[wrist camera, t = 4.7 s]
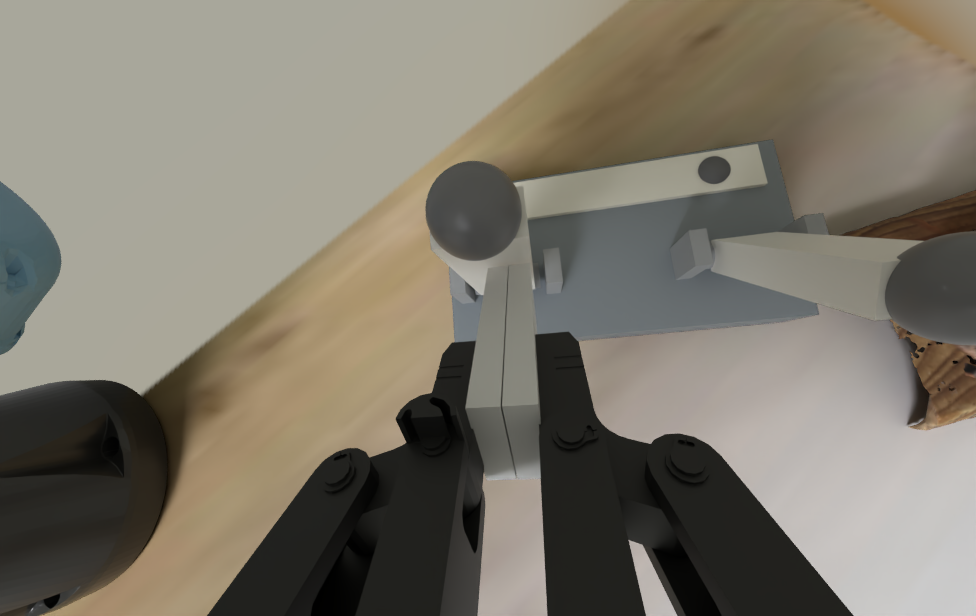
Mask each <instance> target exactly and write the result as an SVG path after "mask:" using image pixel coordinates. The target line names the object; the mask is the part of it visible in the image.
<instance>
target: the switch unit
mask: <svg viewBox="0 0 976 616" xmlns="http://www.w3.org/2000/svg"><path fill="white" fill-rule="evenodd" d="M512 182H513V183H514V185H515V187H517V186H523V189H524V197H525V205H526V213H527V222H528V230H529V238H530V246H531V254H532V263H538V266H539V275H540V284H541V288H535V289H533V297H534V306H535V315H536V324H537V334H546V333H557V332H570V333H571V334H572V336H573V337H574V338H575V339H576V340H577V341H583V340H594V339H605V338H616V337H627V336H638V335H649V334H660V333H671V332H682V331H692V330H703V329H714V328H725V327H736V326H747V325H758V324H769V323H780V322H785V321H790V320H795V319H800V318H805V317H809V316H814V315H819V312H818V308H817V304H816V303H814V302H811V301H807V300H804V299H801V298H797V297H794V296H791V295H788V294H784V293H781V292H778V291H774V290H771V289H768V288H764V287H761V286H758V285H754V284H751V283H748V282H745V281H741V280H738V279H735V278H731V277H728V276H725V275H721V274H718V273H715V272H712V271H711V269H707V268H708V267H710V266H711V265H713V264H714V262H713V258H712V253H711V248H710V243H709V241H711V240H716V239H724V238H731V237H739V236H747V235H755V234H763V233H771V232H788V233H804V234H820V235H829V232H828V229H827V225H826V222H825V218H824V215H823V213H819V214H812V215H804V216H802V217H800V218H799V219H797V220H795V221H794V217H793V214H792V210H791V206H790V202H789V199H788V195H787V191H786V187H785V183H784V180H783V176H782V172H781V168H780V165H779V161H778V157H777V153H776V149H775V146H774V142H773V139H772V140H766V141H760V142H754V143H748V144H741V145H735V146H729V147H723V148H716V149H710V150H704V151H698V152H691V153H685V154H679V155H673V156H667V157H660V158H654V159H648V160H642V161H635V162H629V163H623V164H617V165H610V166H604V167H598V168H592V169H586V170H579V171H573V172H567V173H561V174H554V175H548V176H542V177H536V178H530V179H523V180H517V181H512ZM449 275H450V292H451V295H452V305H453V322H454V338H455V342H466V341H476V339H477V332H478V326H479V320H480V314H481V308H482V301H483V295H476V292H475V289H474V288H473V287H472V286H470V285H469V284H468V283H467V282H466V281H465V280H464V279H463V278H462V277H460V276H459V275H458V274H457V273H456V272H455V271H454V270H453V269H452V268H451V267H449Z"/></svg>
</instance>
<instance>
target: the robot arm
mask: <svg viewBox="0 0 976 616" xmlns="http://www.w3.org/2000/svg"><path fill="white" fill-rule="evenodd" d="M60 268H61V254H60V249H59V246H58V244H57V242H56V240H55V238H54V235H53V234H52V232H51V230H50V229H49V228H48V226H47V225H46V223H45V222H44V221H43V220H42V219H41V217H40V216H39V215H38V214H37V213H36V212H35V211H34V210H33V209H32V208H31V207H30V206H29V205H28V204H27V203H26V202H25V201H24V200H23V199H22V198H20V197H19V196H18V195H17V194H16V193H14V192H13V191H12V190H11V189H9V188H8V187H7V186H6V185H4V184H3V183H1V182H0V355H1V354H4V353H6V352H7V351H9V350H10V349H11V348H12V347H13V346H14V345H15V344H16V343H17V341H18V340H19V338H20V337H21V336H22V334H23V333H24V328H25V322H26V321H27V319H28V318H29V317H30V315H31V314H32V312H33V311H34V310H35V308H36V307H37V306H38V304H39V303H40V302H41V300H42V299H43V298H44V296H45V295H46V294H47V293H48V291H49V290H50V289H51V287H52V286H53V284H54V283H55V281H56V279H57V277H58V275H59V273H60ZM396 421H397V423H398V425H399V427H400V430H401V432H402V434H403V436H404V438H405V440H406V442H407V443H405V444H404V445H402V446H400V447H398V448H396V449H394V450H391V451H388V452H385V453H382V454H379V455H376V456H373V457H370V458H369V457H368V455H367V453H366V452H364V451H362V450H360V449H358V448H347V449H344V450H342V451H339V452H336V453H334V454H333V455H331V456H330V457H328V458H327V459H325V460H324V461H323V462H322V463H321V464H320V466H319V467H318V468H317V469H316V470H315V471H314V472H313V474H312V475H311V476H310V478H309V479H308V481H307V482H306V483H305V485H304V486H303V487H302V489H301V490H300V491H299V493H298V494H297V495H296V497H295V498H294V499H293V501H292V502H291V503H290V505H289V506H288V507H287V509H286V510H285V512H284V513H283V514H282V516H281V517H280V518H279V520H278V521H277V522H276V524H275V525H274V526H273V528H272V529H271V530H270V532H269V533H268V534H267V536H266V537H265V538H264V540H263V541H262V542H261V544H260V545H259V547H258V548H257V549H256V551H255V552H254V553H253V555H252V556H251V557H250V559H249V560H248V561H247V563H246V564H245V565H244V567H243V568H242V569H241V571H240V572H239V573H238V575H237V576H236V577H235V579H234V580H233V582H232V583H231V584H230V586H229V587H228V588H227V590H226V591H225V592H224V594H223V595H222V596H221V598H220V599H219V600H218V602H217V603H216V604H215V606H214V607H213V608H212V610H211V611H210V613H209V614H208V615H207V616H477V613H478V599H479V585H480V572H481V558H482V544H483V530H484V516H485V497H484V492H483V489H482V484H483V473H485V476H486V479H487V480H513V479H516V474H517V478H518V479H541V492H542V512H543V532H544V553H545V573H546V593H547V613H548V616H646V614H645V610H644V606H643V601H642V597H641V593H640V588H639V584H638V580H637V575H636V571H635V567H634V562H633V558H632V554H631V549H630V545H629V541H628V540H631V541H634V542H636V543H639V544H642V545H643V546H644V548H645V550H646V552H647V554H648V556H649V558H650V561H651V563H652V565H653V567H654V569H655V571H656V573H657V575H658V577H659V579H660V581H661V583H662V585H663V587H664V589H665V591H666V593H667V595H668V597H669V599H670V601H671V603H672V605H673V607H674V610H675V612H676V614H677V616H853V614H852V613H851V612H850V611H849V610H848V608H847V607H846V606H845V605H844V604H843V602H842V601H841V600H840V599H839V598H838V596H837V595H836V594H835V593H834V592H833V590H832V589H831V588H830V587H829V586H828V584H827V583H826V582H825V581H824V580H823V578H822V577H821V576H820V575H819V573H818V572H817V571H816V570H815V569H814V567H813V566H812V565H811V564H810V563H809V561H808V560H807V559H806V558H805V557H804V555H803V554H802V553H801V552H800V551H799V549H798V548H797V547H796V546H795V545H794V543H793V542H792V541H791V540H790V538H789V537H788V536H787V535H786V534H785V532H784V531H783V530H782V529H781V528H780V526H779V525H778V524H777V523H776V522H775V520H774V519H773V518H772V517H771V516H770V514H769V513H768V512H767V511H766V510H765V508H764V507H763V506H762V505H761V503H760V502H759V501H758V500H757V499H756V497H755V496H754V495H753V494H752V493H751V491H750V490H749V489H748V488H747V487H746V485H745V484H744V483H743V482H742V481H741V479H740V478H739V477H738V476H737V475H736V473H735V472H734V471H733V470H732V469H731V467H730V466H729V465H728V464H727V462H726V461H725V460H724V459H723V458H722V456H721V455H720V454H718V453H717V452H716V451H715V450H714V449H713V448H712V447H711V446H710V445H708V444H707V443H705V442H703V441H701V440H699V439H697V438H695V437H692V436H687V435H683V434H666V435H663V436H661V437H659V438H657V439H655V440H654V441H653V442H652V444H648V443H643V442H639V441H635V440H631V439H627V438H624V437H621V436H618V435H617V434H615V433H613V432H611V431H609V430H608V429H607V428H606V427H605V426H604V425H602V424H601V422H600V421H599V419H598V418H597V416H596V414H595V411H594V408H593V403H592V399H591V395H590V390H589V386H588V382H587V377H586V373H585V369H584V364H583V360H582V356H581V351H580V347H579V342H578V341H577V340H576V339H575V338H574V337H573V336H572V334H571V333H570V332H557V333H546V334H537V324H536V315H535V306H534V297H533V289H532V280H531V271H530V263H526V264H517V265H509V268H508V266H500V267H492V268H488V270H487V277H486V283H485V289H484V295H483V301H482V308H481V314H480V320H479V326H478V332H477V339H476V341H466V342H454V343H451V345H450V346H449V347H448V348H447V350H446V351H445V352H444V353H443V355H442V358H441V362H440V366H439V370H438V373H437V377H436V380H435V384H434V388H433V391H432V393H430V394H425V395H421V396H419V397H417V398H415V399H413V400H411V401H409V402H408V403H407V404H406V405H405V406H404V407H403V408H402V409H401V410H400V412H399V414H398V415H397V417H396ZM166 482H167V452H166V445H165V440H164V436H163V433H162V429H161V427H160V424H159V422H158V419H157V417H156V415H155V414H154V412H153V410H152V409H151V407H150V406H149V405H148V403H147V402H146V401H145V400H144V399H143V398H142V397H141V396H140V395H139V394H138V393H137V392H135V391H134V390H132V389H130V388H129V387H127V386H125V385H123V384H120V383H117V382H113V381H106V380H90V381H63V382H55V383H49V384H44V385H40V386H36V387H32V388H28V389H25V390H21V391H16V392H12V393H8V394H5V395H1V396H0V616H40V615H44V614H47V613H50V612H52V611H55V610H58V609H60V608H62V607H64V606H66V605H69V604H71V603H73V602H75V601H77V600H79V599H81V598H83V597H85V596H87V595H89V594H91V593H93V592H95V591H97V590H99V589H101V588H103V587H105V586H106V585H108V584H109V583H111V582H112V581H114V580H115V579H116V578H117V577H119V576H120V575H121V574H122V573H123V572H124V571H125V570H126V569H127V568H128V567H129V566H130V565H131V564H132V563H133V561H134V560H135V559H136V558H137V556H138V555H139V553H140V552H141V551H142V549H143V548H144V546H145V544H146V543H147V541H148V539H149V537H150V535H151V533H152V531H153V529H154V527H155V524H156V522H157V520H158V517H159V514H160V511H161V507H162V504H163V500H164V495H165V489H166Z"/></svg>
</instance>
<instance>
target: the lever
mask: <svg viewBox="0 0 976 616" xmlns="http://www.w3.org/2000/svg"><path fill="white" fill-rule="evenodd" d="M709 243H710V248H711V253H712V258H713V262H714V264H713V265H711V266H710V267H708V268H707V269H711V271H712V272H715V273H718V274H721V275H725V276H728V277H731V278H735V279H738V280H741V281H745V282H748V283H751V284H754V285H758V286H761V287H764V288H768V289H771V290H774V291H778V292H781V293H784V294H788V295H791V296H794V297H797V298H801V299H804V300H807V301H811V302H814V303H817V304H821V305H824V306H827V307H831V308H834V309H837V310H840V311H844V312H847V313H850V314H854V315H857V316H860V317H864V318H867V319H870V320H873V321H878V320H889V319H892V320H893V321H894V322H895V323H897V324H898V325H899V326H901V327H902V328H904V329H906V330H907V331H909V332H911V333H913V334H915V335H918V336H920V337H923V338H926V339H929V340H933V341H937V342H942V343H948V344H956V345H976V231H970V232H960V233H953V234H947V235H943V236H939V237H935V238H932V239H929V240H926V241H916V240H900V239H884V238H868V237H852V236H836V235H820V234H804V233H788V232H771V233H763V234H755V235H747V236H739V237H731V238H724V239H716V240H711V241H709Z"/></svg>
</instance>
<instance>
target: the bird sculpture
mask: <svg viewBox="0 0 976 616" xmlns="http://www.w3.org/2000/svg"><path fill="white" fill-rule="evenodd" d="M973 230H975V231H976V190H974V191H971V192H968V193H966V194H963V195H960V196H957V197H955V198H952V199H948V200H945V201H943V202H940V203H936V204H933V205H930V206H927V207H923V208H920V209H917V210H914V211H912V212H910V213H908V214H905V215H902V216H899V217H893V218H890V219H887V220H884V221H881V222H878V223H875V224H872V225H869V226H866V227H863V228H861V229H859V230H856V231H851V232H847V233H845V234H842V235H839V236H852V237H868V238H884V239H900V240H916V241H926V240H929V239H932V238H935V237H939V236H943V235H947V234H953V233H960V232H970V231H973ZM890 321H891V322H892V323H894V324H893V326H894V328H895V332H896V333H897V334H898V335H899V339H902V338H905V337H906V336H907V337H909V338H910V339H911V341H912V342H914V343H916V344H917V347H918V348H917V350H918V349H920V348H921V347H924V348H925V351H924V352H923V353H922V352H918V351H917V350H916V351H915V353H917V354H918V355H919V358H915V357H914V356H913V353H911V352H910V351H909V352H910V353H911V354H912V356H911V358H914V359H913V360H912V362H913V363H914V366H915V368H917V373H918V374H919V377H920V379H921V381H922V384H923V386H924V388H926V389H927V391H928V392H929V393H930V396H929V402H928V407H927V413H926V418H925V419H924V420H923V421H921V422H920V423H919V424H917V425H914V426H910V428H914V429H919V430H930V429H932V428H937V427H941V426H944V425H948V424H951V423H955V422H957V421H961V420H964V419H969V418H974V417H976V365H973V364H971V363H970V359H969V358H968V357H967V355H969V356H971V357H972V358H973V359H974V360H975V359H976V345H956V344H948V343H942V345H941V344H938V345H937V344H936V341H933V340H929V339H926V338H923V337H920V336H918V335H915V334H912V335H909V334H907V330H906V329H904V328H902V327H900V326H899V325H898V324H897V323H895V322H894V321H893V320H892V319H890ZM897 326H898V327H900V328H899V329H898V328H897ZM928 343H930V344H931V345H928ZM927 345H928V346H927ZM955 360H957V361H958V363H956V364H953V362H952V361H955ZM938 385H939V386H938ZM949 387H950V390H949ZM938 388H940V391H939V389H938Z"/></svg>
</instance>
